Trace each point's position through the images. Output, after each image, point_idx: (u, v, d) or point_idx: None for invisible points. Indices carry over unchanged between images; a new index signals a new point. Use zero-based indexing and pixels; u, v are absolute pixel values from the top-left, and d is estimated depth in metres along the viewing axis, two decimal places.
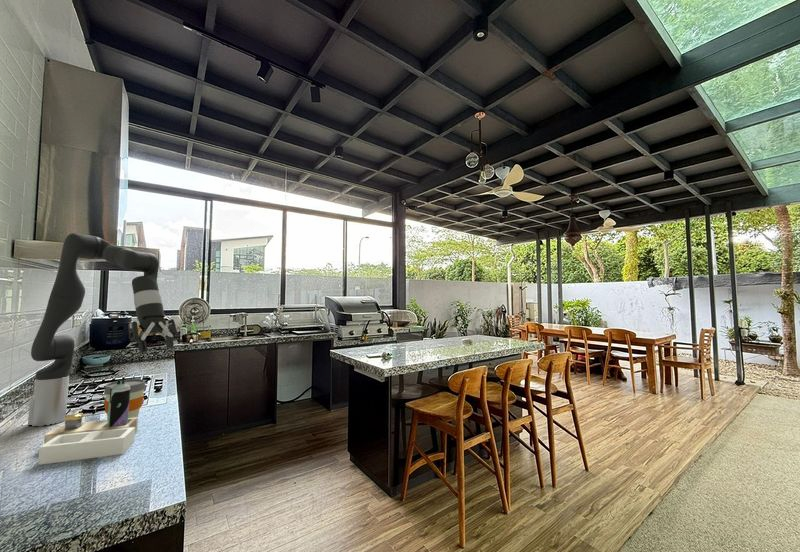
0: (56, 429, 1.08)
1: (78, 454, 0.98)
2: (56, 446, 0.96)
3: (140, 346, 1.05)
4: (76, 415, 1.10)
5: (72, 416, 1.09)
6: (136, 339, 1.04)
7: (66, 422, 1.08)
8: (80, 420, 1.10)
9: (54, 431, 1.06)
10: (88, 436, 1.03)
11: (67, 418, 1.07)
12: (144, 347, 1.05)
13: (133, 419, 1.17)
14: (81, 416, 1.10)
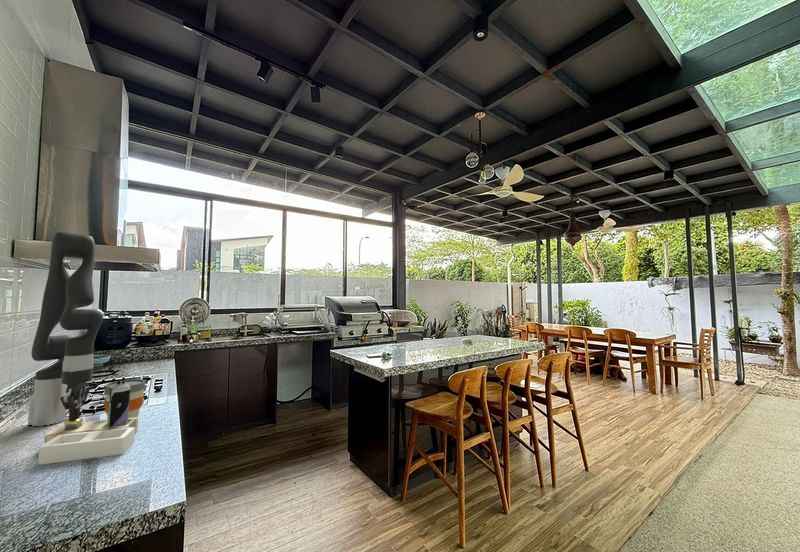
0: (56, 429, 1.08)
1: (78, 454, 0.98)
2: (56, 446, 0.96)
3: (73, 414, 1.08)
4: (76, 420, 1.09)
5: (72, 421, 1.09)
6: (73, 408, 1.08)
7: (66, 427, 1.08)
8: (79, 425, 1.10)
9: (54, 431, 1.06)
10: (88, 436, 1.03)
11: (67, 423, 1.07)
12: (76, 415, 1.09)
13: (133, 419, 1.17)
14: (81, 421, 1.10)
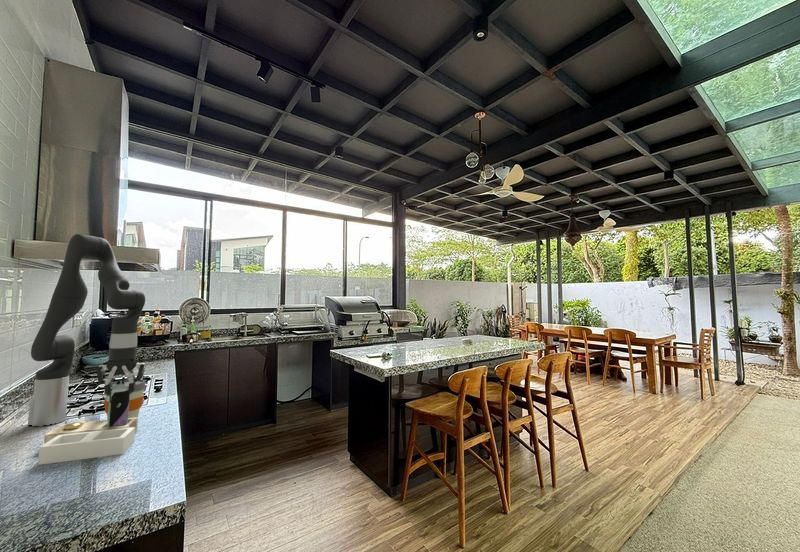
0: (56, 429, 1.08)
1: (78, 454, 0.98)
2: (56, 446, 0.96)
3: None
4: (75, 424, 1.09)
5: (71, 425, 1.08)
6: None
7: None
8: None
9: (54, 431, 1.06)
10: (88, 436, 1.03)
11: (66, 427, 1.07)
12: (107, 391, 1.12)
13: (133, 419, 1.17)
14: (80, 425, 1.10)
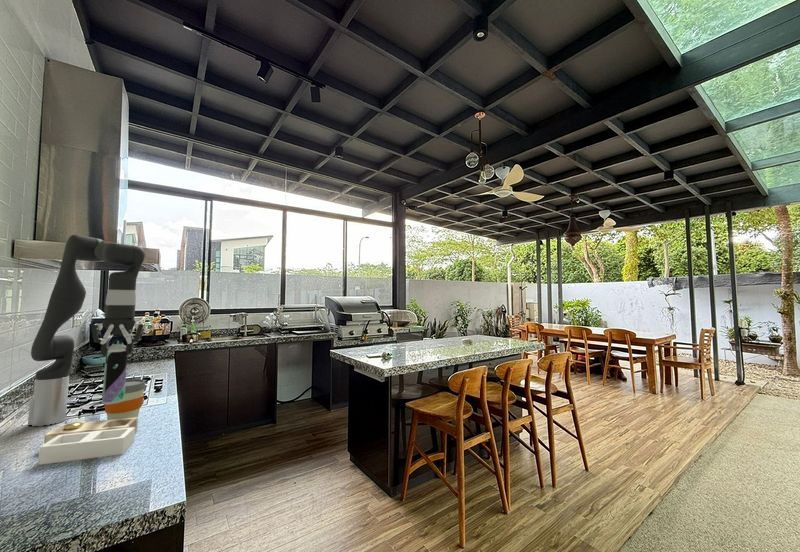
0: (56, 429, 1.08)
1: (78, 454, 0.98)
2: (56, 446, 0.96)
3: None
4: (75, 424, 1.09)
5: (71, 425, 1.08)
6: (97, 342, 1.04)
7: None
8: None
9: (54, 431, 1.06)
10: (88, 436, 1.03)
11: (66, 427, 1.07)
12: (103, 351, 1.05)
13: (133, 419, 1.17)
14: (80, 425, 1.10)
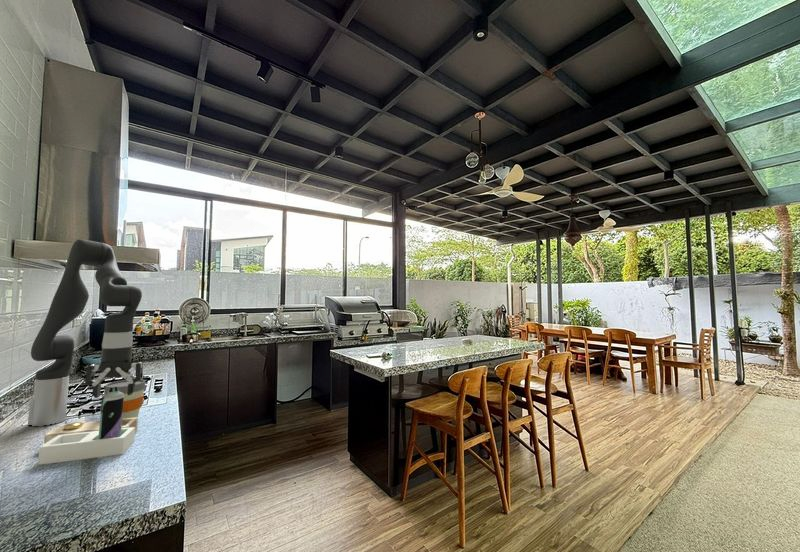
0: (56, 429, 1.08)
1: (78, 454, 0.98)
2: (56, 446, 0.96)
3: None
4: (75, 424, 1.09)
5: (71, 425, 1.08)
6: None
7: None
8: None
9: (54, 431, 1.06)
10: (88, 436, 1.03)
11: (66, 427, 1.07)
12: (94, 393, 1.03)
13: (133, 419, 1.17)
14: (80, 425, 1.10)
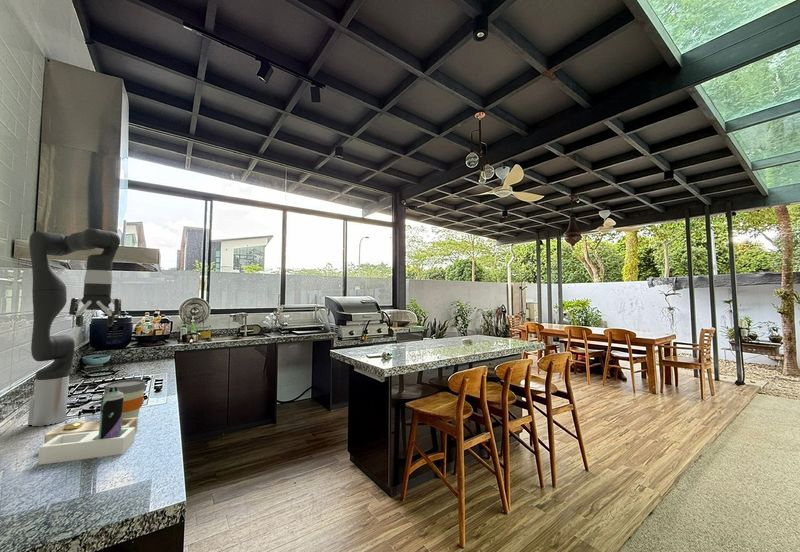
0: (56, 429, 1.08)
1: (78, 454, 0.98)
2: (56, 446, 0.96)
3: None
4: (75, 424, 1.09)
5: (71, 425, 1.08)
6: (72, 314, 1.17)
7: None
8: None
9: (54, 431, 1.06)
10: (88, 436, 1.03)
11: (66, 427, 1.07)
12: (77, 322, 1.18)
13: (133, 419, 1.17)
14: (80, 425, 1.10)
